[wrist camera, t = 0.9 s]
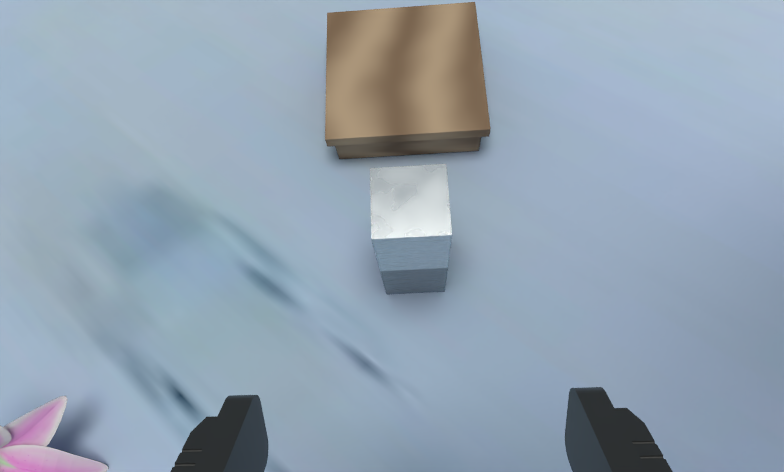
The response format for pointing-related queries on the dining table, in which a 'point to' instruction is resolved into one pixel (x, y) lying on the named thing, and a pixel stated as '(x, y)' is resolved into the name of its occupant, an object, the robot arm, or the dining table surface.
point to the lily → (40, 444)
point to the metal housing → (411, 227)
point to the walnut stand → (405, 81)
